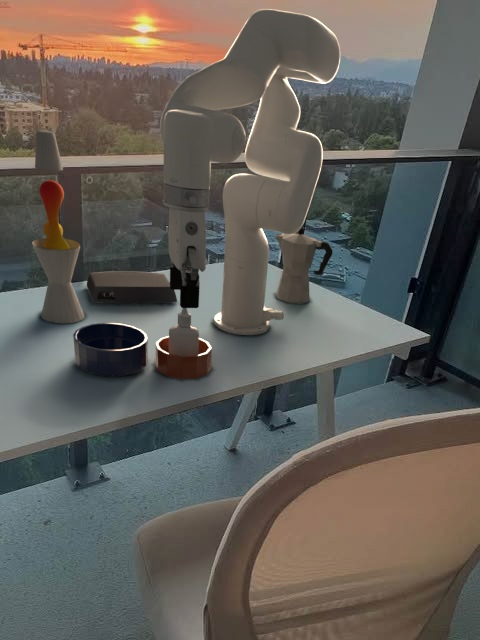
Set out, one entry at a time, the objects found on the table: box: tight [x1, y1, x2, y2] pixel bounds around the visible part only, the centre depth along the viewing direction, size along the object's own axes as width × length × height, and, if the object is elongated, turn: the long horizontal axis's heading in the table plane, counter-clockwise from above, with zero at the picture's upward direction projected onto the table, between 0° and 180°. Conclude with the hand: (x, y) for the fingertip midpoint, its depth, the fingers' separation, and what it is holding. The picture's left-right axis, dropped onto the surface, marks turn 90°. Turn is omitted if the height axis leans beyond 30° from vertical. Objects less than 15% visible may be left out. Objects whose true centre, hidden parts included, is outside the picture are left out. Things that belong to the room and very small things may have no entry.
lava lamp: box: [31, 129, 86, 324], centre depth 123 cm, size 9×9×35 cm
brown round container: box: [154, 335, 213, 380], centre depth 119 cm, size 10×10×4 cm
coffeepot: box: [274, 226, 333, 305], centre depth 158 cm, size 15×9×18 cm, turn 72°
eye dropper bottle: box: [168, 308, 200, 356], centre depth 117 cm, size 4×6×12 cm
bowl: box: [72, 322, 149, 378], centre depth 116 cm, size 13×13×6 cm
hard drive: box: [86, 270, 178, 304], centre depth 147 cm, size 13×19×4 cm
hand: (183, 298), depth 112 cm, fingers open, 9 cm apart
